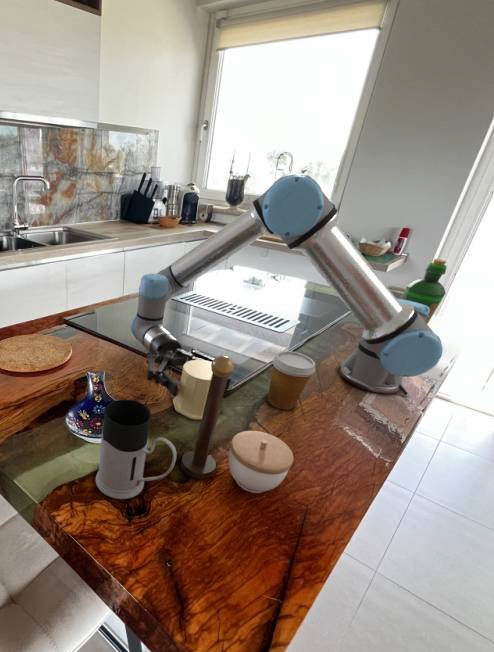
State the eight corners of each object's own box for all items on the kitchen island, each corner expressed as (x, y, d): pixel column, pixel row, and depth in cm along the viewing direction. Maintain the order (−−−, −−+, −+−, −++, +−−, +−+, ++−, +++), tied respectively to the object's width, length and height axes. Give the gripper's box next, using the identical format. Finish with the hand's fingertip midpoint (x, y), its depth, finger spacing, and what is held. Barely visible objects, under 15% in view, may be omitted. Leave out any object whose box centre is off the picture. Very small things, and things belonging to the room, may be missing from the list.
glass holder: (116, 457, 79) (124, 391, 72) (178, 496, 72) (194, 427, 64) (85, 480, 73) (89, 411, 66) (149, 525, 66) (162, 454, 58)
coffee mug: (394, 319, 162) (406, 295, 156) (369, 311, 168) (379, 287, 163) (407, 313, 169) (418, 290, 164) (382, 305, 176) (392, 282, 170)
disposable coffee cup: (303, 416, 97) (321, 372, 91) (262, 409, 98) (276, 365, 92) (297, 396, 105) (312, 354, 99) (259, 389, 106) (272, 347, 100)
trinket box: (272, 512, 71) (289, 471, 66) (214, 485, 75) (225, 445, 70) (286, 476, 79) (302, 438, 74) (233, 454, 83) (244, 416, 78)
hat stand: (220, 468, 79) (252, 358, 67) (202, 484, 75) (232, 370, 63) (193, 451, 83) (217, 344, 70) (174, 466, 79) (197, 355, 66)
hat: (226, 408, 97) (236, 371, 92) (202, 425, 91) (211, 386, 85) (190, 389, 103) (197, 354, 98) (165, 405, 96) (171, 367, 91)
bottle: (424, 350, 137) (469, 266, 123) (393, 348, 137) (434, 263, 122) (406, 337, 146) (445, 257, 132) (376, 335, 146) (413, 254, 131)
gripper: (200, 354, 116) (244, 394, 99) (117, 363, 107) (150, 408, 91) (206, 330, 112) (252, 367, 95) (119, 336, 103) (154, 379, 87)
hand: (202, 387), depth 93 cm, fingers open, 13 cm apart
